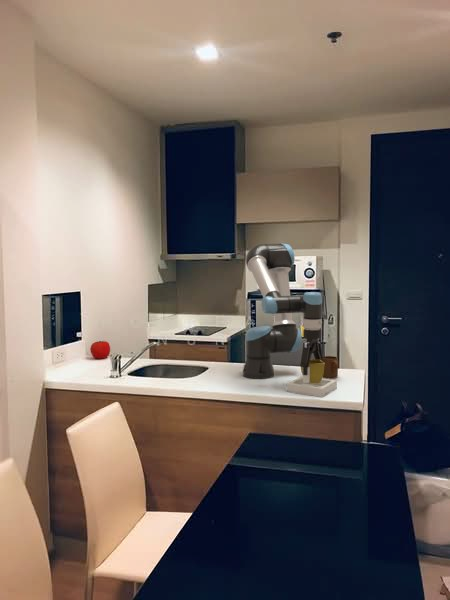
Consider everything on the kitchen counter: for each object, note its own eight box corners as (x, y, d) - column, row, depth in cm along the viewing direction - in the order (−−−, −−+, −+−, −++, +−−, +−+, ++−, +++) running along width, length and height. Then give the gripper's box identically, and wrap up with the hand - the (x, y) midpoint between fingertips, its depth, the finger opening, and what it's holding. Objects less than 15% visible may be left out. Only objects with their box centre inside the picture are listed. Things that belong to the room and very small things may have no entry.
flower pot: (304, 385, 211) (304, 363, 210) (299, 380, 220) (299, 359, 219) (324, 384, 212) (325, 363, 211) (319, 379, 220) (319, 359, 220)
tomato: (114, 356, 294) (113, 338, 294) (105, 360, 282) (104, 342, 281) (96, 355, 297) (95, 338, 296) (86, 360, 284) (85, 342, 283)
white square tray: (286, 391, 214) (286, 383, 213) (302, 383, 227) (302, 376, 227) (322, 397, 205) (322, 388, 205) (336, 388, 218) (336, 380, 218)
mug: (344, 380, 232) (345, 360, 232) (329, 381, 231) (329, 361, 230) (333, 374, 244) (333, 355, 243) (318, 375, 242) (318, 356, 241)
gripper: (309, 333, 202) (308, 386, 204) (331, 326, 222) (330, 374, 223) (292, 331, 206) (291, 384, 208) (315, 324, 226) (314, 372, 228)
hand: (312, 379), depth 216 cm, fingers closed on flower pot, 11 cm apart
